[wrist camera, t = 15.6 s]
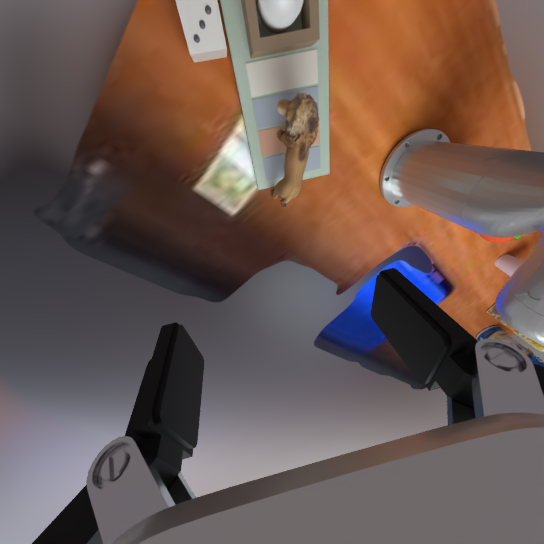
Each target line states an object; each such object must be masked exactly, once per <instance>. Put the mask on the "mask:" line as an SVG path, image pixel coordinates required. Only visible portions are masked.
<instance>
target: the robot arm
mask: <svg viewBox="0 0 544 544" xmlns="http://www.w3.org/2000/svg"><path fill="white" fill-rule="evenodd" d="M380 190H381V194H382V196H383V198H384V199H385V200H386V201H387V202H388V203H390V204H392V205H394V206H397V207H407V206H412V205H416V206H419V207H421V208H423V209H425V210H427V211H430V212H432V213H434V214H436V215H438V216H440V217H443V218H445V219H447V220H449V221H451V222H454V223H456V224H458V225H460V226H462V227H465V228H467V229H469V230H471V231H474V232H476V233H478V234H481V235H484V236H488V237H496V238H506V237H515V236H521V235H526V234H531V233H536V232H540V233H541V235H540V238H539V240H538V241H537V243H536V244H535V246H534V247H533V248H532V251H531V252H530V253H529V255H528V256H527V257H526V258H525V260H524V261H523V262H522V263H521V265H520V266H519V267H518V268H517V270H516V271H515V272H514V273H513V275H512V276H511V277H510V278H509V280H508V281H507V283H506V284H505V285H504V286H503V288H502V289H501V291H500V292H499V294H498V296H497V299H496V309H497V312H498V314H499V315H500V317H501V318H502V319H503V320H504V321H505V322H506V323H507V324H508V325H509V326H510V327H512V328H513V329H515V330H516V331H517V332H519V333H521V334H522V335H524V336H526V337H527V338H529V339H531V340H533V341H535V342H537V343H539V344H541V345H543V346H544V152H535V151H525V150H516V149H506V148H497V147H487V146H478V145H469V144H459V143H451V142H450V140H449V138H448V136H447V135H446V134H445V133H444V132H442V131H440V130H436V129H423V130H418V131H416V132H414V133H411V134H410V135H408V136H407V137H405V138H404V139H403V140H402V141H401V142H399V143H398V144H397V145H396V147H395V148H394V149H393V150H392V151H391V153H390V154H389V156H388V157H387V159H386V161H385V163H384V165H383V168H382V171H381V176H380ZM371 316H372V319H373V320H374V322H375V323H376V324H377V326H378V327H379V328H380V330H381V331H382V333H383V334H384V335H385V337H386V338H387V339H388V341H389V342H390V343H391V345H392V346H393V347H394V349H395V350H396V352H397V353H398V354H399V356H400V357H401V358H402V360H403V361H404V362H405V364H406V365H407V367H408V368H409V369H410V371H411V372H412V373H413V375H414V376H415V377H416V379H417V380H418V381H419V382H420V383H421V384H425V386H426V387H427V388H428V390H429V391H430V390H434V389H438V388H441V389H442V390H443V391H444V392H445V394H446V395H447V420H448V426H444V427H440V428H436V429H432V430H429V431H425V432H422V433H419V434H415V435H411V436H407V437H404V438H400V439H397V440H393V441H390V442H386V443H382V444H379V445H375V446H372V447H369V448H365V449H361V450H358V451H354V452H351V453H347V454H344V455H340V456H337V457H334V458H330V459H326V460H323V461H320V462H316V463H312V464H309V465H306V466H302V467H298V468H295V469H292V470H288V471H285V472H281V473H278V474H274V475H271V476H268V477H264V478H260V479H257V480H253V481H250V482H247V483H243V484H240V485H236V486H233V487H229V488H227V489H223V490H220V491H217V492H214V493H210V494H207V495H204V496H201V497H197V498H196V497H195V495H194V493H193V492H192V491H191V489H190V487H189V485H188V484H187V482H186V480H185V479H184V477H183V476H182V474H181V472H180V471H181V464H182V459H185V458H189V457H192V454H193V448H195V447H196V445H197V440H198V429H199V417H200V405H201V393H202V382H203V371H204V359H203V356H202V355H201V353H200V352H199V350H198V348H197V347H196V345H195V344H194V342H193V341H192V339H191V338H190V336H189V334H188V333H187V331H186V330H185V328H184V327H183V326H182V325H179V324H178V323H172V324H168V325H164V326H162V328H161V331H160V334H159V337H158V340H157V344H156V347H155V350H154V353H153V357H152V359H151V360H150V361H149V362H148V365H147V367H146V370H145V374H144V377H143V380H142V383H141V386H140V389H139V393H138V396H137V399H136V402H135V405H134V409H133V412H132V415H131V418H130V421H129V424H128V427H127V431H126V434H125V436H123V437H119V438H117V439H115V440H113V441H111V442H110V443H109V444H108V445H106V446H105V447H104V448H103V449H102V451H101V452H100V453H99V454H98V455H97V457H96V458H95V460H94V462H93V463H92V465H91V468H90V470H89V472H88V477H87V485H86V486H85V487H84V488H83V489H82V490H81V491H80V492H79V493H78V495H77V496H76V497H75V498H74V499H73V500H72V501H71V502H70V503H69V504H68V505H67V506H66V507H65V509H64V510H63V511H62V512H61V513H60V514H59V515H58V516H57V517H56V519H54V521H52V523H51V524H50V525H49V526H48V527H47V528H46V529H45V530H44V531H43V532H42V533H41V534H40V536H39V537H38V538H37V539H36V540H35V541H34V542H33V543H32V544H544V367H543V366H540V365H537V364H533V363H532V361H531V360H530V358H529V357H528V356H527V355H526V354H525V353H524V352H523V351H521V350H520V349H518V348H517V347H515V346H513V345H511V344H509V343H507V342H504V341H501V340H498V339H491V338H490V339H482V340H479V341H477V340H476V339H475V338H474V337H473V336H471V335H470V334H469V333H468V332H467V331H466V330H465V329H464V328H462V327H461V326H460V325H459V324H458V323H457V322H456V321H454V320H453V319H452V318H451V317H450V316H449V315H448V314H446V313H445V312H444V311H443V310H442V309H441V308H440V307H439V306H437V305H436V304H435V303H434V302H433V301H432V300H431V299H429V298H428V297H427V296H426V295H425V294H424V293H423V292H421V291H420V290H419V289H418V288H417V287H416V286H415V285H414V284H412V283H411V282H410V281H409V280H408V279H407V278H406V277H404V276H403V275H402V274H401V273H400V272H399V271H398V270H396V269H395V268H392V269H388V270H384V271H381V272H380V274H379V275H378V276H377V278H376V284H375V291H374V297H373V303H372V310H371Z"/></svg>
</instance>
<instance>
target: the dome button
mask: <svg viewBox="0 0 544 544" xmlns="http://www.w3.org/2000/svg"><path fill="white" fill-rule="evenodd" d="M303 1H304V0H256V4H257V11H258V14H259V17H260V20H261V22H262V23H263V25H264V26H265V27H266V28H267V29H268V30H269V31H271V32H273V33H282V32H285V31H286V30H287V29H288V28H289V27H290V26H291V25H292V23H293V22H294V21H295V19H296V18H297V16H298V15H299V13H300V11H301V8H302V5H303Z"/></svg>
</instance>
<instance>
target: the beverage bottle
mask: <svg viewBox="0 0 544 544" xmlns="http://www.w3.org/2000/svg"><path fill="white" fill-rule="evenodd" d="M490 338H491V339H498V340H501V341H504V342H507V343H509V344H511V345H513V346H515V347H517V348H518V349H520V350H521V351H523V352H524V353H525V354H526V355H527V356H528V357H529V358H530V360H531V361H532V363H533V364H537V365H540V366H543V367H544V362H543V361H542V360H541V359H540V358H539V357H536V356H535V355H534V354H533V352H532V351H531V350H529V349H527V348H525V347H524V346H523V345H521V344H520V343H518V342H517V341H516V340H515V339H513V338H512V337H511V336H509V335H508V334H507V333H505V332H504V331H503V330H502V329H501V328H499V327H498V326H491V327H488V328H486V329H484V330H482V331H481V332H480V333H479V334H478V335H477V337H476V339H477V341H479V340H482V339H490Z"/></svg>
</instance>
